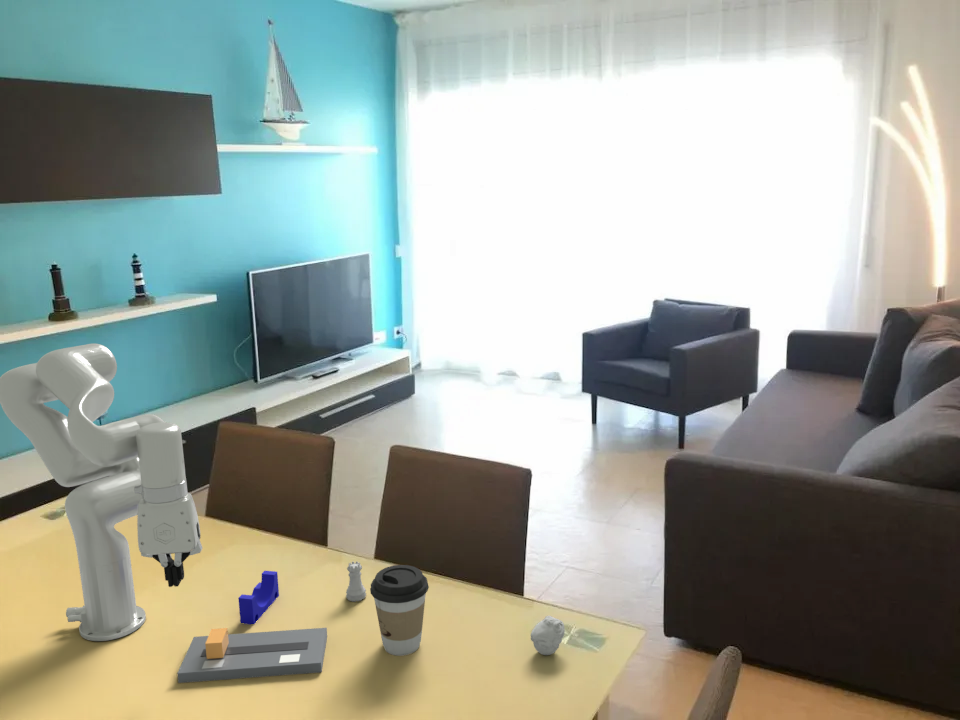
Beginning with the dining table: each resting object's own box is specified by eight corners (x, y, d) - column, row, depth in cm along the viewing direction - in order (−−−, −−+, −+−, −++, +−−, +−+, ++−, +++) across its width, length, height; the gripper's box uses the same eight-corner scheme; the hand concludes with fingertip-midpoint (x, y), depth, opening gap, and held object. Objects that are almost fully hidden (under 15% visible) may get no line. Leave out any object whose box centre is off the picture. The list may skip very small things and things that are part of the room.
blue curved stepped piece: (260, 594, 176) (258, 570, 174) (279, 596, 175) (277, 571, 173) (234, 623, 164) (231, 597, 163) (254, 625, 163) (251, 599, 162)
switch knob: (206, 658, 148) (205, 643, 147) (213, 643, 152) (211, 629, 152) (223, 657, 148) (221, 642, 147) (228, 642, 153) (227, 627, 152)
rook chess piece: (357, 604, 170) (355, 570, 169) (341, 599, 173) (339, 565, 171) (370, 595, 174) (368, 562, 172) (355, 590, 176) (353, 557, 175)
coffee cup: (362, 642, 156) (358, 573, 153) (410, 623, 163) (408, 556, 159) (392, 669, 147) (388, 597, 144) (442, 647, 154) (439, 577, 151)
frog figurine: (571, 654, 151) (571, 621, 150) (542, 666, 147) (542, 632, 146) (552, 639, 156) (552, 607, 155) (523, 650, 152) (523, 618, 151)
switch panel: (178, 682, 144) (177, 672, 144) (194, 645, 156) (193, 636, 156) (321, 672, 147) (320, 662, 146) (327, 636, 158) (326, 627, 158)
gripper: (115, 501, 138) (127, 596, 142) (202, 496, 139) (212, 590, 143) (129, 485, 145) (140, 576, 149) (212, 481, 147) (221, 571, 151)
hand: (175, 583), depth 146 cm, fingers closed
